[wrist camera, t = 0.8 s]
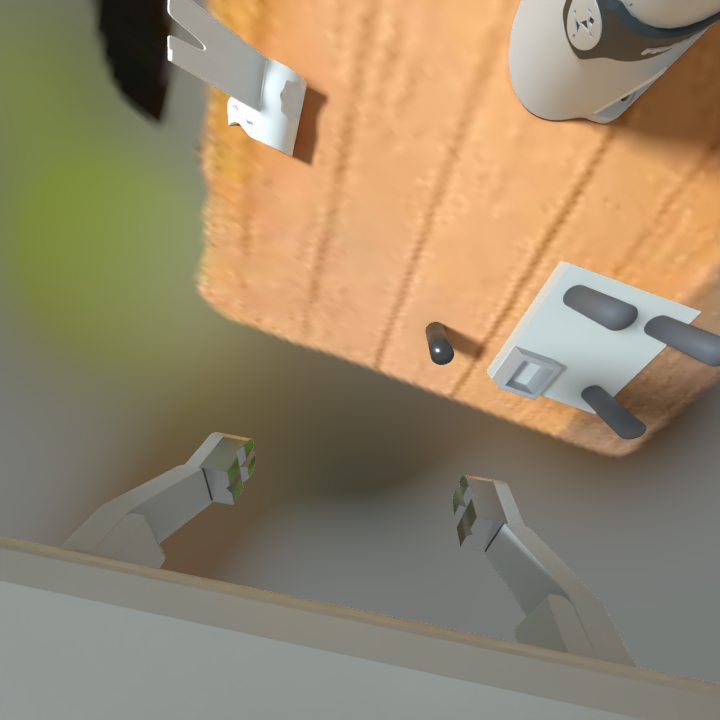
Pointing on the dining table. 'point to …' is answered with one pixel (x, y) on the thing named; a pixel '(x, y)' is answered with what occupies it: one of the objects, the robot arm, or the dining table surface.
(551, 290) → the stool seat
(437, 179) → the dining table surface
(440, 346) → the stool leg
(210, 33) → the plastic part
